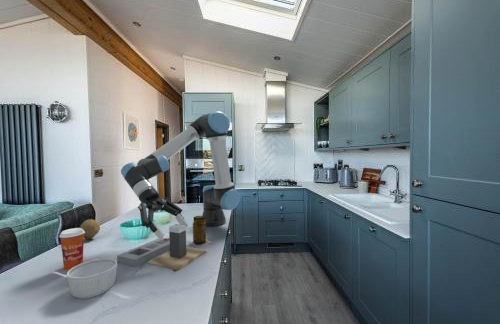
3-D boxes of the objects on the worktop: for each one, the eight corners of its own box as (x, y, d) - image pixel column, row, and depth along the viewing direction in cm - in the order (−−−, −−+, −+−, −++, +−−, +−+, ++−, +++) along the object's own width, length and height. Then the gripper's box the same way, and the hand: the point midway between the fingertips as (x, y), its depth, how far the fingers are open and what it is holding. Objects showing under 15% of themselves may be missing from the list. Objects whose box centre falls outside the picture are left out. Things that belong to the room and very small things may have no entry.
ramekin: (61, 306, 67) (60, 281, 67) (74, 283, 79) (73, 262, 79) (115, 294, 72) (114, 271, 72) (119, 274, 84) (119, 255, 84)
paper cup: (58, 274, 85) (56, 235, 85) (63, 265, 92) (61, 229, 92) (84, 269, 89) (83, 231, 88) (87, 261, 96) (86, 226, 95)
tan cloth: (180, 247, 108) (180, 245, 108) (206, 252, 102) (206, 250, 102) (147, 264, 92) (147, 261, 92) (176, 271, 86) (176, 268, 86)
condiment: (202, 238, 120) (202, 214, 119) (211, 242, 113) (210, 217, 113) (189, 241, 115) (188, 216, 115) (197, 246, 109) (196, 220, 108)
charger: (177, 252, 100) (176, 224, 99) (186, 254, 97) (185, 225, 97) (170, 256, 96) (169, 226, 96) (179, 258, 94) (178, 228, 93)
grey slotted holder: (160, 243, 113) (160, 236, 113) (177, 246, 109) (177, 239, 109) (117, 263, 93) (117, 254, 93) (135, 267, 89) (134, 258, 89)
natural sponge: (104, 237, 124) (103, 218, 123) (86, 243, 116) (85, 222, 116) (94, 235, 128) (93, 216, 128) (75, 240, 120) (74, 220, 120)
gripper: (163, 194, 115) (189, 228, 109) (115, 204, 92) (144, 248, 87) (172, 183, 112) (199, 218, 107) (124, 191, 90) (155, 236, 84)
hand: (174, 232), depth 97 cm, fingers open, 13 cm apart
